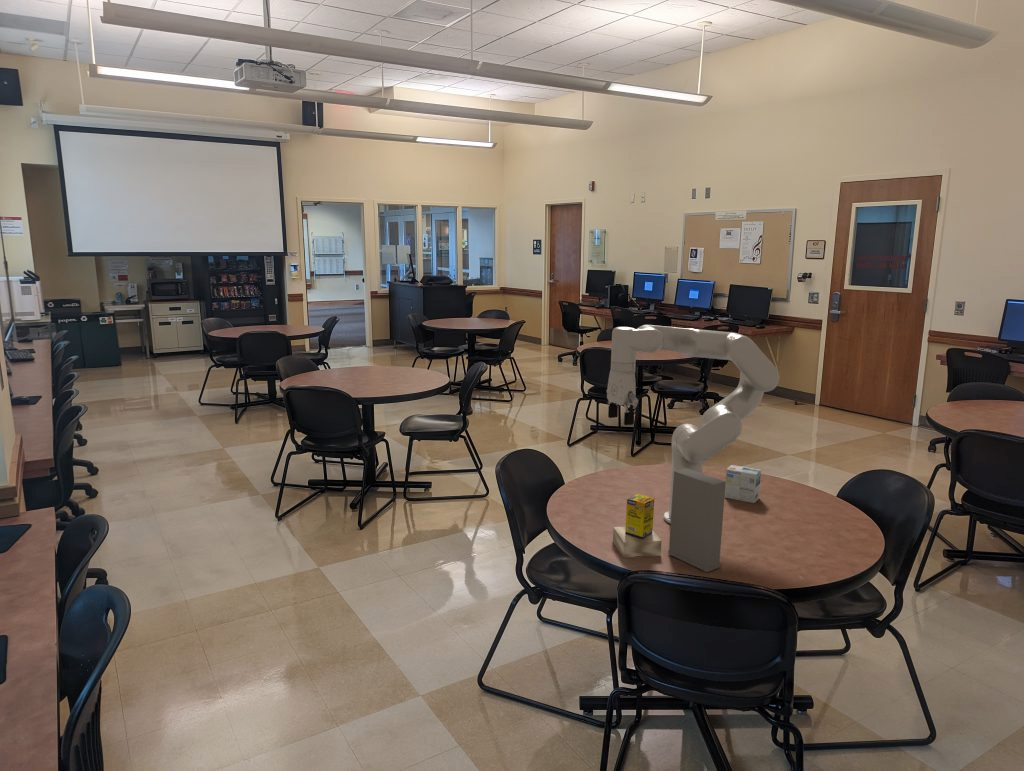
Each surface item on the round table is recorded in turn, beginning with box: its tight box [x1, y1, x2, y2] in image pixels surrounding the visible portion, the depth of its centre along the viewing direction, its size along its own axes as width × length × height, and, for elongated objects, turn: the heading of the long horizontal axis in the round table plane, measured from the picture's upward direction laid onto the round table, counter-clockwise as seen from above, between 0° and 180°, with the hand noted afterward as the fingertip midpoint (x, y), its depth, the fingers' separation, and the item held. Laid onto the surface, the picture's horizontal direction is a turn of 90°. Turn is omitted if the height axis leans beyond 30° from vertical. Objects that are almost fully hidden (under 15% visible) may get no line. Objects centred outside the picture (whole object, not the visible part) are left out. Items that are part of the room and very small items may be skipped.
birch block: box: [612, 526, 662, 558], centre depth 201 cm, size 11×11×5 cm
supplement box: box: [624, 493, 655, 539], centre depth 200 cm, size 6×6×11 cm
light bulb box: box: [724, 464, 762, 504], centre depth 243 cm, size 11×7×11 cm, turn 57°
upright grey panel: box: [667, 468, 726, 573], centre depth 192 cm, size 14×6×25 cm, turn 35°
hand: (620, 421), depth 217 cm, fingers open, 9 cm apart
